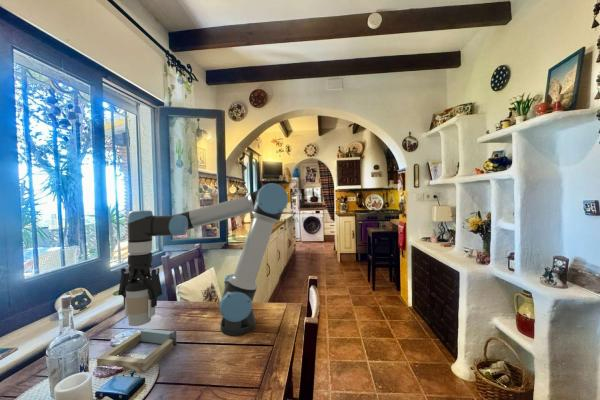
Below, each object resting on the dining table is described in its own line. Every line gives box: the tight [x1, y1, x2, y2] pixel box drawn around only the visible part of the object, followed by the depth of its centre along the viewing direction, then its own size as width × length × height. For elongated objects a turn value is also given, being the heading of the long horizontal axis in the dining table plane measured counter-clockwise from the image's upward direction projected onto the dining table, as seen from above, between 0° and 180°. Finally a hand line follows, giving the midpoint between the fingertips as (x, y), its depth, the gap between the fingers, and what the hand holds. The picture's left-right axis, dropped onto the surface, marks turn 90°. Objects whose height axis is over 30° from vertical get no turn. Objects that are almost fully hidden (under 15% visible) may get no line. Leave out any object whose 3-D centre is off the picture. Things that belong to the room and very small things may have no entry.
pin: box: [171, 330, 177, 347], centre depth 97 cm, size 2×2×5 cm
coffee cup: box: [125, 279, 154, 327], centre depth 91 cm, size 9×9×15 cm
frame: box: [96, 331, 174, 373], centre depth 91 cm, size 18×17×3 cm
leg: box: [140, 328, 172, 345], centre depth 99 cm, size 13×2×4 cm, turn 77°
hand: (140, 315), depth 91 cm, fingers closed on coffee cup, 8 cm apart
